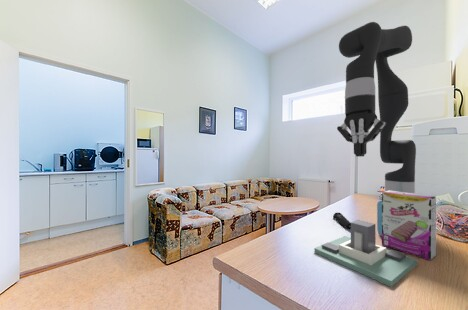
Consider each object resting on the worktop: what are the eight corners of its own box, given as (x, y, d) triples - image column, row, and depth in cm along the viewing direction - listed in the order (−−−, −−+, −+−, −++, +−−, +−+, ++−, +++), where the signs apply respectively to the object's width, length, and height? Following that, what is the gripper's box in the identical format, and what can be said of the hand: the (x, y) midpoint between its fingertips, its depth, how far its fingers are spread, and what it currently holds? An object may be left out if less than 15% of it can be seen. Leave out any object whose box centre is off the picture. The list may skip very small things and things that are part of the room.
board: (344, 239, 66) (344, 229, 66) (417, 264, 51) (417, 251, 51) (314, 252, 57) (314, 241, 57) (391, 286, 42) (391, 271, 42)
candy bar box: (381, 246, 61) (380, 191, 61) (387, 242, 64) (387, 189, 64) (431, 262, 52) (431, 197, 52) (437, 256, 55) (436, 195, 55)
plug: (358, 248, 57) (358, 219, 57) (375, 254, 53) (375, 223, 53) (349, 253, 54) (349, 223, 54) (366, 259, 51) (366, 227, 51)
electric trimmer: (344, 231, 74) (344, 222, 74) (332, 218, 90) (332, 210, 90) (355, 232, 74) (356, 223, 74) (341, 218, 89) (341, 211, 89)
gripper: (392, 93, 56) (392, 156, 56) (343, 103, 67) (344, 156, 67) (380, 88, 52) (380, 156, 52) (330, 100, 63) (331, 156, 63)
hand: (359, 156), depth 59 cm, fingers closed
